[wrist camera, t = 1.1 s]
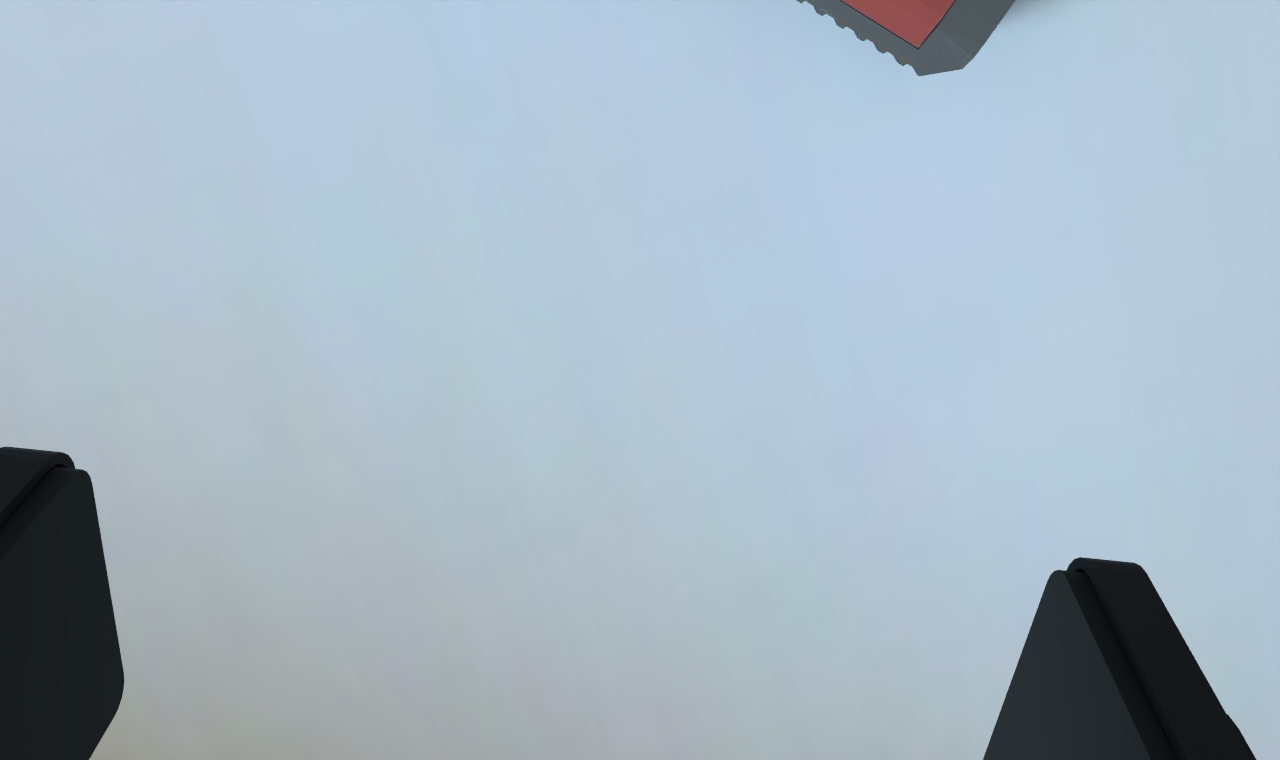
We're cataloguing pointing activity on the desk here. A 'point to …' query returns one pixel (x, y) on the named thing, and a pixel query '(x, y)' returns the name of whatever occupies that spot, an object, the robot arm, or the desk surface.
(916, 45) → the walkie-talkie
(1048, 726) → the robot arm
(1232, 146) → the desk surface
